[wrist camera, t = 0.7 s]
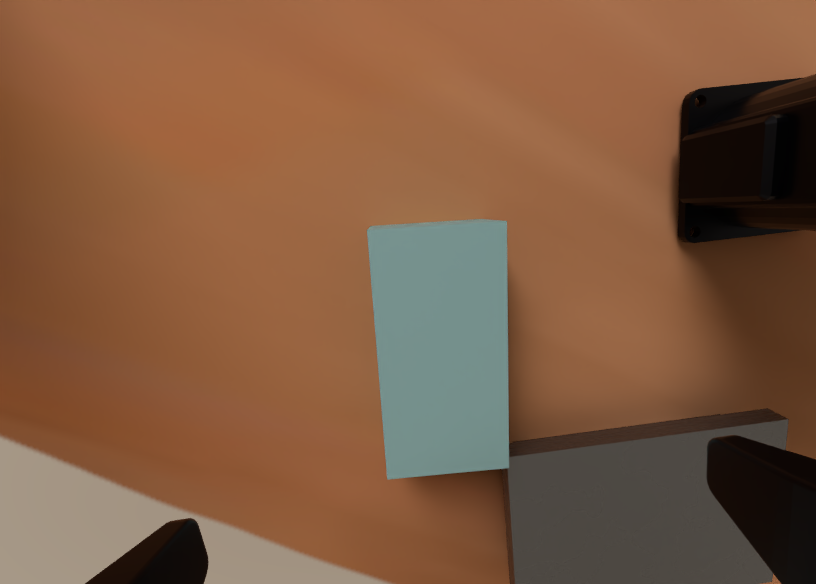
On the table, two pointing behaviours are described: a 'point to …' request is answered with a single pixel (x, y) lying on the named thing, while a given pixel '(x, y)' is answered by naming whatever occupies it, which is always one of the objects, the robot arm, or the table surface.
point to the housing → (442, 345)
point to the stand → (629, 505)
